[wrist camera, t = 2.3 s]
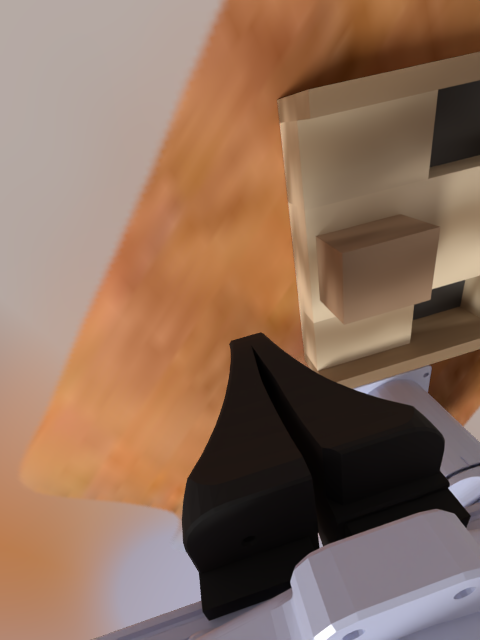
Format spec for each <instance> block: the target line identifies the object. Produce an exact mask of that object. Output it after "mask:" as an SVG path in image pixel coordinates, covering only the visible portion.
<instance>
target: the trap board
mask: <svg viewBox="0 0 480 640" xmlns="http://www.w3.org/2000/svg"><path fill="white" fill-rule="evenodd" d="M277 103H278V112H279V121H280V131H281V140H282V149H283V159H284V168H285V178H286V187H287V196H288V206H289V215H290V224H291V234H292V243H293V252H294V262H295V271H296V281H297V290H298V299H299V309H300V318H301V327H302V337H303V346H304V355H305V361H306V363H307V364H308V366H309V368H310V369H311V370H313V371H315V372H316V373H318V374H320V375H322V376H324V377H326V378H328V379H330V380H332V381H334V382H337V383H339V384H341V385H344V386H346V387H349V388H351V389H352V388H355V387H358V386H362V385H365V384H368V383H371V382H375V381H378V380H381V379H384V378H388V377H391V376H394V375H397V374H401V373H404V372H407V371H410V370H414V369H417V368H420V367H423V366H427V365H430V364H433V363H436V362H439V361H443V360H446V359H449V358H452V357H456V356H459V355H462V354H465V353H469V352H472V351H475V350H478V349H480V52H476V53H471V54H467V55H462V56H458V57H453V58H449V59H444V60H440V61H435V62H431V63H426V64H422V65H417V66H412V67H408V68H403V69H399V70H394V71H390V72H385V73H381V74H376V75H372V76H367V77H363V78H358V79H354V80H349V81H345V82H340V83H335V84H331V85H326V86H322V87H317V88H313V89H308V90H305V91H302V92H299V93H296V94H293V95H290V96H287V97H284V98H281V99H278V100H277ZM399 214H402V215H405V216H408V217H411V218H414V219H417V220H421V221H424V222H427V223H430V224H433V225H436V226H440V227H441V228H440V235H439V242H438V249H437V256H436V264H435V271H434V278H433V285H432V292H431V299H430V300H428V301H425V302H421V303H418V304H415V305H411V306H408V307H404V308H401V309H397V310H394V311H390V312H387V313H383V314H380V315H377V316H373V317H370V318H366V319H363V320H359V321H356V322H352V323H349V324H346V325H344V324H343V323H342V322H341V321H340V320H339V319H338V318H337V317H336V316H335V315H334V314H333V313H332V312H331V311H330V310H329V309H328V308H327V307H326V306H325V305H324V304H323V303H322V302H321V301H320V295H319V280H318V265H317V250H316V236H319V235H323V234H327V233H330V232H334V231H338V230H342V229H346V228H349V227H353V226H357V225H361V224H365V223H368V222H372V221H376V220H380V219H384V218H387V217H391V216H395V215H399Z"/></svg>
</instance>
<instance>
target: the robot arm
mask: <svg viewBox="0 0 480 640" xmlns="http://www.w3.org/2000/svg"><path fill="white" fill-rule="evenodd" d="M229 345H230V349H231V364H230V374H229V380H228V385H227V390H226V395H225V399H224V402H223V406H222V409H221V412H220V415H219V417H218V420H217V423H216V426H215V428H214V430H213V433H212V435H211V437H210V439H209V441H208V443H207V445H206V447H205V449H204V451H203V453H202V455H201V457H200V459H199V460H198V462H197V464H196V465H195V467H194V469H193V470H192V472H191V474H190V475H189V477H188V479H187V483H186V488H185V494H184V501H183V512H182V530H183V544H184V547H185V550H186V552H187V553H188V555H189V557H190V558H191V560H192V562H193V563H194V565H195V567H196V568H197V570H198V572H199V578H200V589H201V601H199V602H197V603H194V604H191V605H188V606H185V607H182V608H179V609H177V610H174V611H171V612H168V613H165V614H162V615H160V616H157V617H154V618H151V619H149V620H145V621H143V622H140V623H137V624H134V625H131V626H129V627H126V628H123V629H120V630H117V631H114V632H112V633H109V634H106V635H103V636H101V637H98V638H95V639H92V640H480V442H479V441H478V440H477V439H476V438H475V437H474V436H473V435H471V434H470V433H469V432H468V431H467V430H466V429H465V428H464V427H463V426H462V425H461V424H460V423H459V422H458V421H457V420H456V419H455V418H454V417H453V416H452V415H450V414H449V413H448V412H447V411H446V410H445V409H444V408H443V407H442V406H441V405H440V404H439V403H438V402H437V401H436V400H435V399H434V398H433V397H432V396H431V395H430V394H428V388H429V382H430V376H431V370H432V367H431V366H430V365H427V366H423V367H420V368H417V369H414V370H410V371H407V372H404V373H401V374H397V375H394V376H391V377H388V378H384V379H381V380H378V381H375V382H371V383H368V384H365V385H362V386H358V387H355V388H352V389H351V388H349V387H346V386H344V385H341V384H339V383H337V382H334V381H332V380H330V379H328V378H326V377H324V376H322V375H320V374H318V373H316V372H315V371H313V370H311V369H310V368H308V367H306V366H305V365H303V364H302V363H300V362H299V361H297V360H296V359H294V358H293V357H291V356H290V355H289V354H287V353H286V352H284V351H283V350H282V349H281V348H279V347H278V346H277V345H276V344H274V343H273V342H272V341H271V340H270V339H269V338H268V337H266V336H265V335H264V334H263V333H257V334H254V335H250V336H247V337H243V338H240V339H236V340H233V341H231V342H230V344H229ZM318 533H319V536H320V538H321V541H322V544H323V547H321V548H319V541H318Z"/></svg>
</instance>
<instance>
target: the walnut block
mask: <svg viewBox="0 0 480 640" xmlns="http://www.w3.org/2000/svg"><path fill="white" fill-rule="evenodd" d="M440 228H441V227H440V226H436V225H433V224H430V223H427V222H424V221H421V220H417V219H414V218H411V217H408V216H405V215H402V214H399V215H395V216H391V217H387V218H384V219H380V220H376V221H372V222H368V223H365V224H361V225H357V226H353V227H349V228H346V229H342V230H338V231H334V232H330V233H327V234H323V235H319V236H316V250H317V265H318V280H319V295H320V301H321V302H322V303H323V304H324V305H325V306H326V307H327V308H328V309H329V310H330V311H331V312H332V313H333V314H334V315H335V316H336V317H337V318H338V319H339V320H340V321H341V322H342V323H343V324H344V325H346V324H349V323H352V322H356V321H359V320H363V319H366V318H370V317H373V316H377V315H380V314H383V313H387V312H390V311H394V310H397V309H401V308H404V307H408V306H411V305H415V304H418V303H421V302H425V301H428V300H430V299H431V292H432V285H433V278H434V271H435V264H436V256H437V249H438V242H439V235H440Z"/></svg>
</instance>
